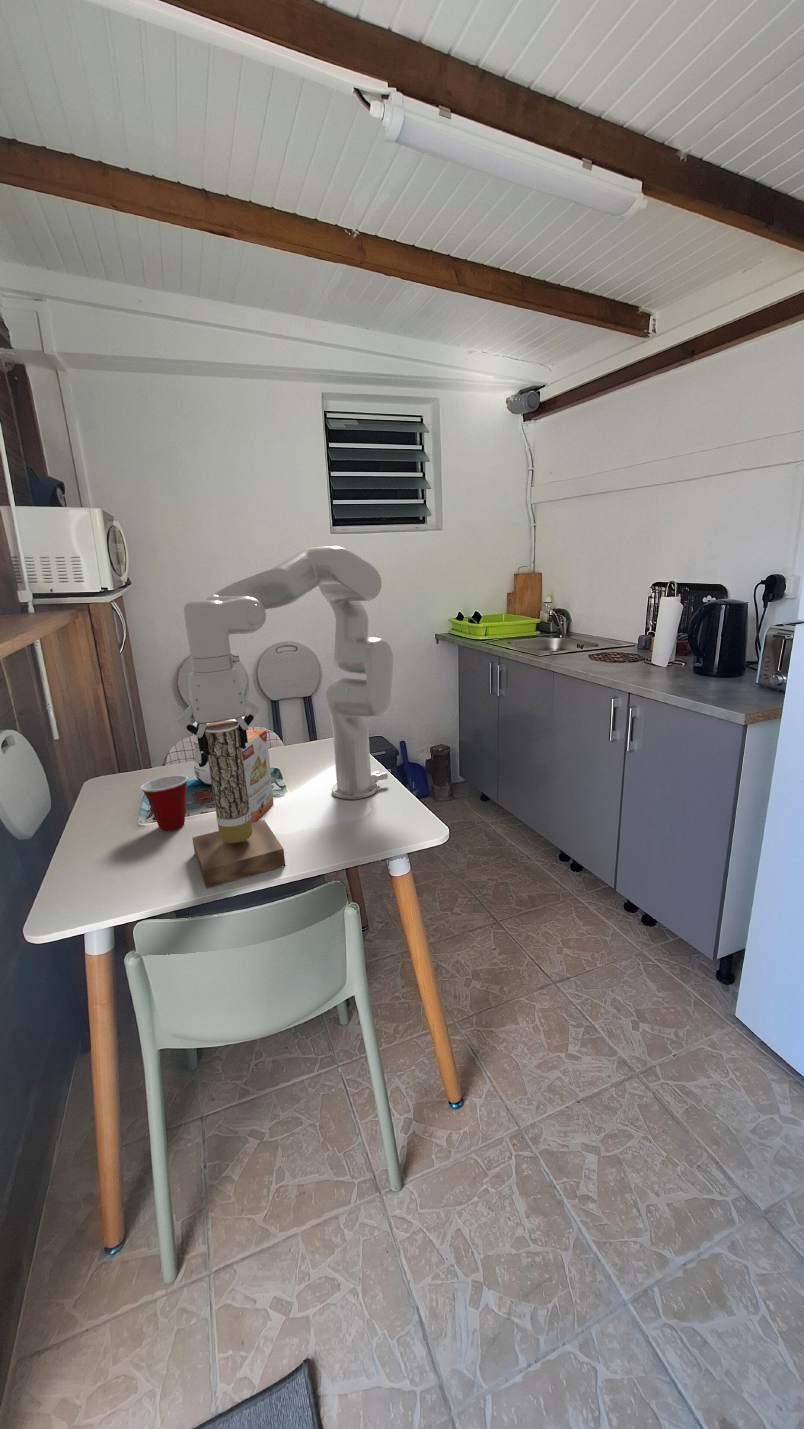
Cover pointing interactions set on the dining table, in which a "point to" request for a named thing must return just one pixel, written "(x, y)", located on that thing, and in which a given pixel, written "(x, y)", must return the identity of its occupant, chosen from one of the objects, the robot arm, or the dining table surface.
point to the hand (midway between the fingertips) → (224, 749)
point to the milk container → (202, 761)
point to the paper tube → (228, 781)
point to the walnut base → (237, 855)
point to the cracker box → (257, 773)
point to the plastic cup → (167, 800)
